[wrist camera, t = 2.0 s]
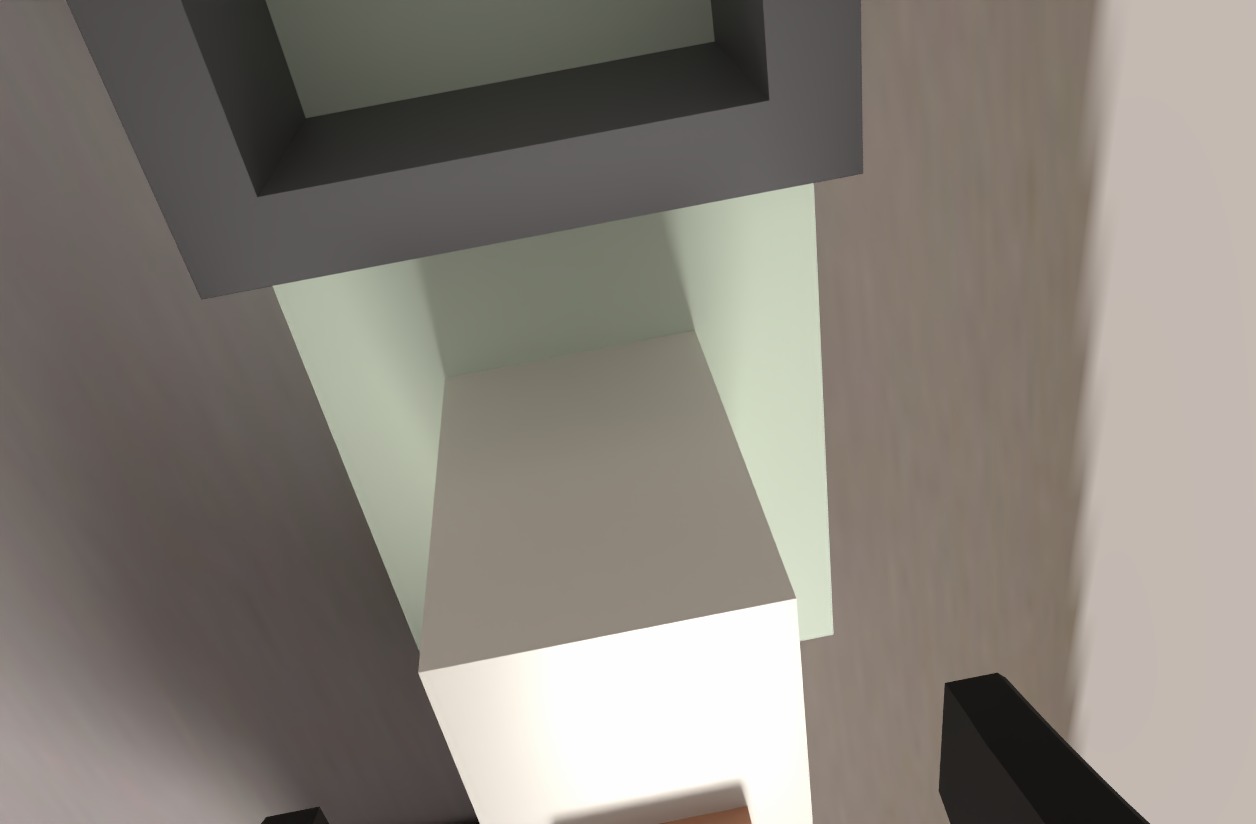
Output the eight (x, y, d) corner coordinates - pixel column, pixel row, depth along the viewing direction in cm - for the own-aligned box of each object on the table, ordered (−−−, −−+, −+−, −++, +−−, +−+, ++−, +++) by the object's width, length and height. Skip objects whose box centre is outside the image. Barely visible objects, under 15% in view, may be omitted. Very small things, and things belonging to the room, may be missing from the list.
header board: (812, 582, 20) (884, 760, 16) (446, 655, 20) (434, 849, 16) (726, -891, 9) (885, -1369, 5) (-87, -750, 9) (-500, -1146, 5)
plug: (724, 562, 18) (827, 900, 12) (514, 603, 17) (521, 963, 12) (694, 330, 15) (809, 633, 9) (445, 378, 15) (414, 711, 9)
